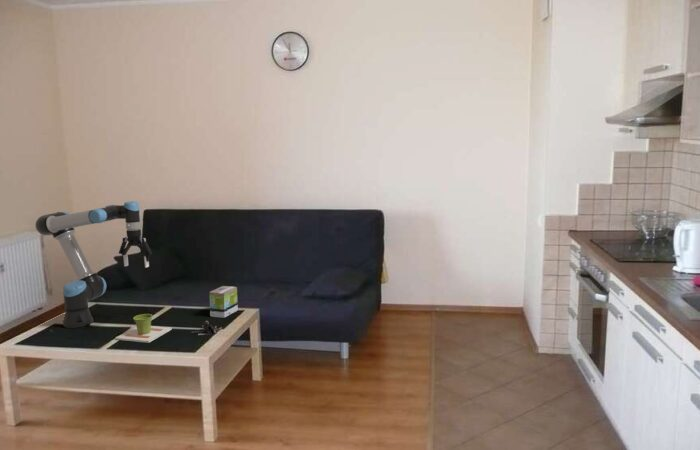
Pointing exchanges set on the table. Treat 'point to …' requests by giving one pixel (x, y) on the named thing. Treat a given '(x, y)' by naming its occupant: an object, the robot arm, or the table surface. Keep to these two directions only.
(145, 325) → the plant pot
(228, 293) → the tea box
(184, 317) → the table surface
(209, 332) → the stuffed animal
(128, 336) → the letter board
